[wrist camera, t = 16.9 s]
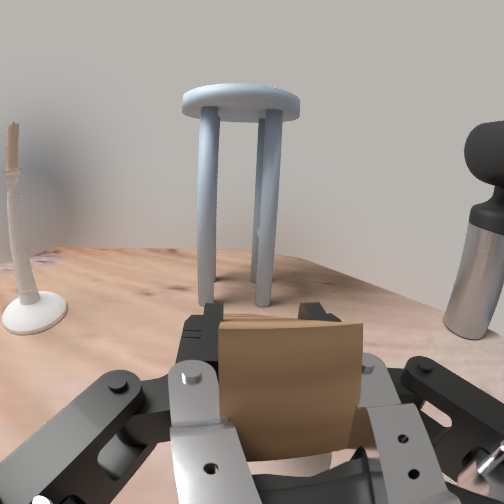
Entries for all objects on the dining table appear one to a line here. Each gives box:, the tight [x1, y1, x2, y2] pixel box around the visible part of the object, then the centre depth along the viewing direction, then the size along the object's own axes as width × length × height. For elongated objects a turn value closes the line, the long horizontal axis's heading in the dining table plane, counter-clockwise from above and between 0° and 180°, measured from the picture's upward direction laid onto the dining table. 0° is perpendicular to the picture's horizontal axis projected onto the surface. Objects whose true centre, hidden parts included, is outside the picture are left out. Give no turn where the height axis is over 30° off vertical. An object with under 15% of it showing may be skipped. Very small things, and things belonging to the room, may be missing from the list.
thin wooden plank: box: [218, 314, 363, 462], centre depth 18 cm, size 26×3×3 cm
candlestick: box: [2, 123, 67, 335], centre depth 29 cm, size 13×13×30 cm
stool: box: [182, 83, 300, 307], centre depth 43 cm, size 18×18×32 cm
